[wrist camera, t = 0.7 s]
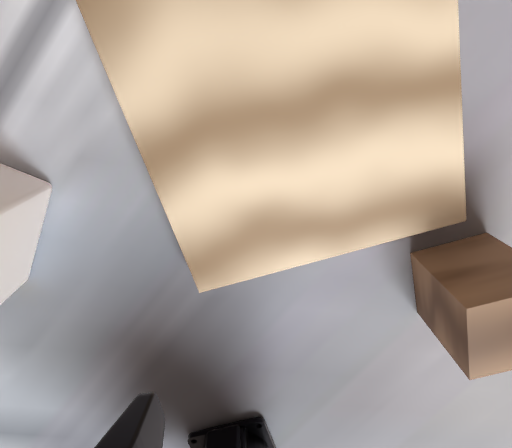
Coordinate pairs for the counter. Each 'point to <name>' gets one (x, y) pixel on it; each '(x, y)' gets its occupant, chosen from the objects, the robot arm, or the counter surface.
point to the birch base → (289, 123)
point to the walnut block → (468, 301)
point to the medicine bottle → (19, 225)
